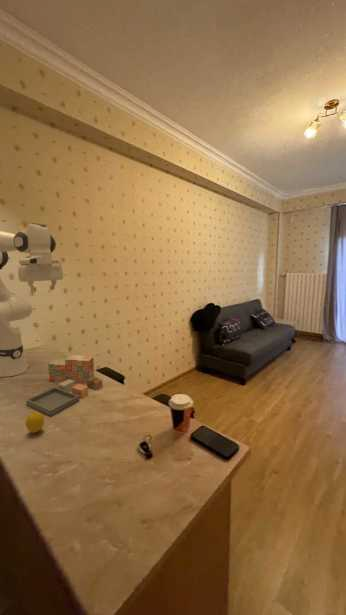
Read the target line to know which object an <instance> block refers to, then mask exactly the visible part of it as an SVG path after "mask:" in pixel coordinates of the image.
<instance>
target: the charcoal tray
mask: <svg viewBox="0 0 346 615" xmlns="http://www.w3.org/2000/svg"><path fill="white" fill-rule="evenodd" d="M78 402H80V398H79V395H76V394H73V393H72V392H70V391H69V392H68V391H65V390H62V389H59V388H58V386H57V387H56V386H54V387H51V388H50V389H48V390H46V391H43V392H41V393H39V394H37V395H34V396H31V397H30V398H28V399H26V400H25V404H26V407H29V408H31V409H34V410H35V411H36V412H39V413H41V414H44V415H47V416H49V417H50V418H51V417H53V416H56V415H57V414H58V413H60V412H62V411H64V410H65V409H68V408H70V407H71V406H73V405H75V404H77V403H78Z"/></svg>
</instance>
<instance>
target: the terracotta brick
mask: <svg viewBox="0 0 346 615" xmlns="http://www.w3.org/2000/svg"><path fill="white" fill-rule="evenodd" d="M71 393H73V394H76V395H79V399H84V398H85V397H87V396H88V395H89V388H88V387H87V386H86V385H84V384H82V383H78V384H77V383H76V384H75V386H73V387H72V390H71Z"/></svg>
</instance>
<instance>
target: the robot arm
mask: <svg viewBox="0 0 346 615" xmlns="http://www.w3.org/2000/svg"><path fill="white" fill-rule="evenodd" d="M49 230H50V229H49V227H48V226H47V225H45V224H42V223H37V222H31V223H30V222H29V224H28V225H27V227H26V228H25V229H24V230H21V231H18V232H17V233H12V232H9V231H4V230H0V270H3V268H4V267H5V266H6V265H7V264H8V261H9V254H8V252H16V251H18V252H20V253H24V254H29V256H25V257H23V258H19V259H18V263H19V264H20V265H19V266H18V268H17V270H18V272H17V273H18V280H19V281H20V282H24V283H26V282H27V285H28V286H29V288H30V291H31V292H37V287H35V286H34V282H44V281H45V282H46V281H51V285H49V290H51V291H54V290H56V288H55V287H56V284H57V282H58V281H60V280H63V279H64V273H63V268H62V262H61V261H59V260H57V259H56V260H53V258H52V253H53V252H54V251H55V249H56V246H57V244H56V242H57V241H56V240H55V238H54V236H52V235H51V234H50V231H49ZM32 313H33V306H32V304H31V303H30V301H29V300H26V299H23V298H20V297H18V296H17V295H15V294H14V293H12V292H11V291H10V289H8V287H7V286H6V285H5V283H4V282H3V280H2V279H1V277H0V378H1V377H2V378H5V377H13V376H17V375H20V374H23V373H25V372H27V370H28V368H29V367H30V363H28V360H27V355H26V353H25V352H24V346H23V344H22V343H23V342H22V333H21V331H20V329H17V328H15V327H12V326H11V325H10V322H13V321H14V322H15V321H20V320H24V319H26V318H29V317H30V316H31V314H32Z"/></svg>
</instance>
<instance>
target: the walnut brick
mask: <svg viewBox="0 0 346 615" xmlns="http://www.w3.org/2000/svg"><path fill="white" fill-rule="evenodd" d="M86 385H87V387H88V389H91V390H94V391H98V390H99V389H101V388H103V379H101V378H98V377H95V376H94V377H92V378H90V379H88V380H87V384H86Z"/></svg>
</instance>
